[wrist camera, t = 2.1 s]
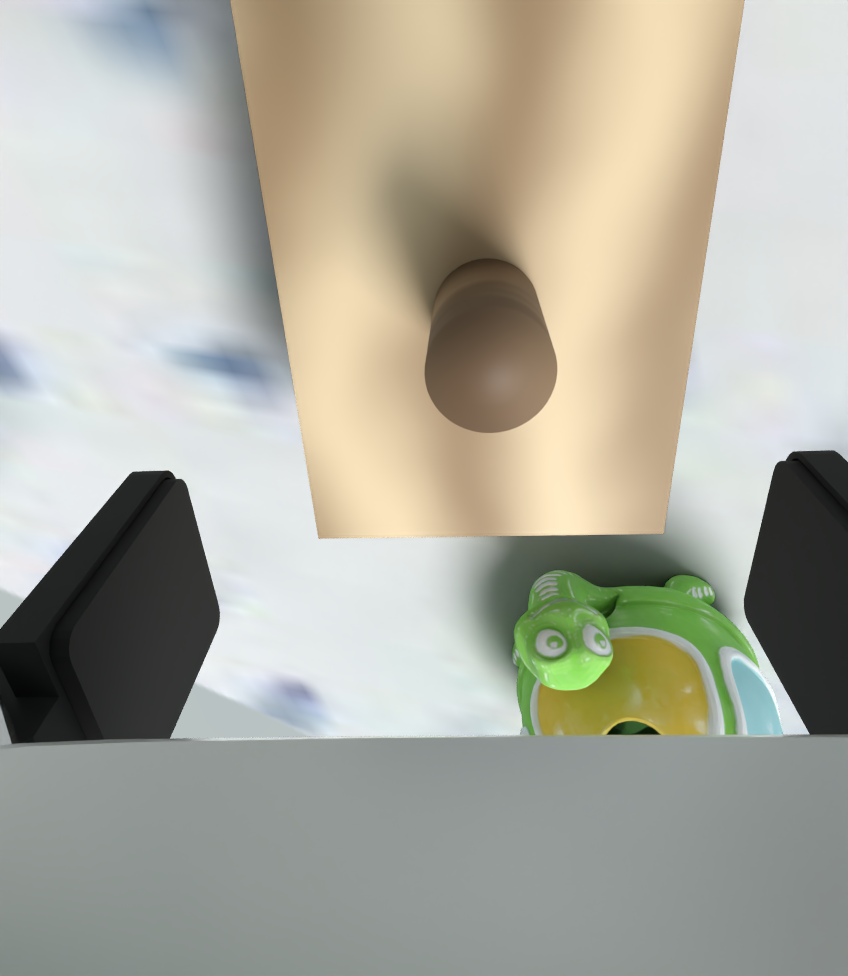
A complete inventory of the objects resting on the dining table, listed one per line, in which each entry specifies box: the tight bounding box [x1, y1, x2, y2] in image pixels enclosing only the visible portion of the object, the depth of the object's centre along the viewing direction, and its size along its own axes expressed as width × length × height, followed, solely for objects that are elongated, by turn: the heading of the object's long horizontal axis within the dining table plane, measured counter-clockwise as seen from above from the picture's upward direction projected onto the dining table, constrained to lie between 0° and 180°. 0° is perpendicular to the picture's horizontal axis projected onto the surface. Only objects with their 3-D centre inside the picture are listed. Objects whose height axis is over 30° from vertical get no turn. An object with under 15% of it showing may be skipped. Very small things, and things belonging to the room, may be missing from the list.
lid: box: [230, 0, 745, 539], centre depth 19 cm, size 13×17×6 cm
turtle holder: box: [512, 570, 783, 735], centre depth 32 cm, size 12×18×12 cm
